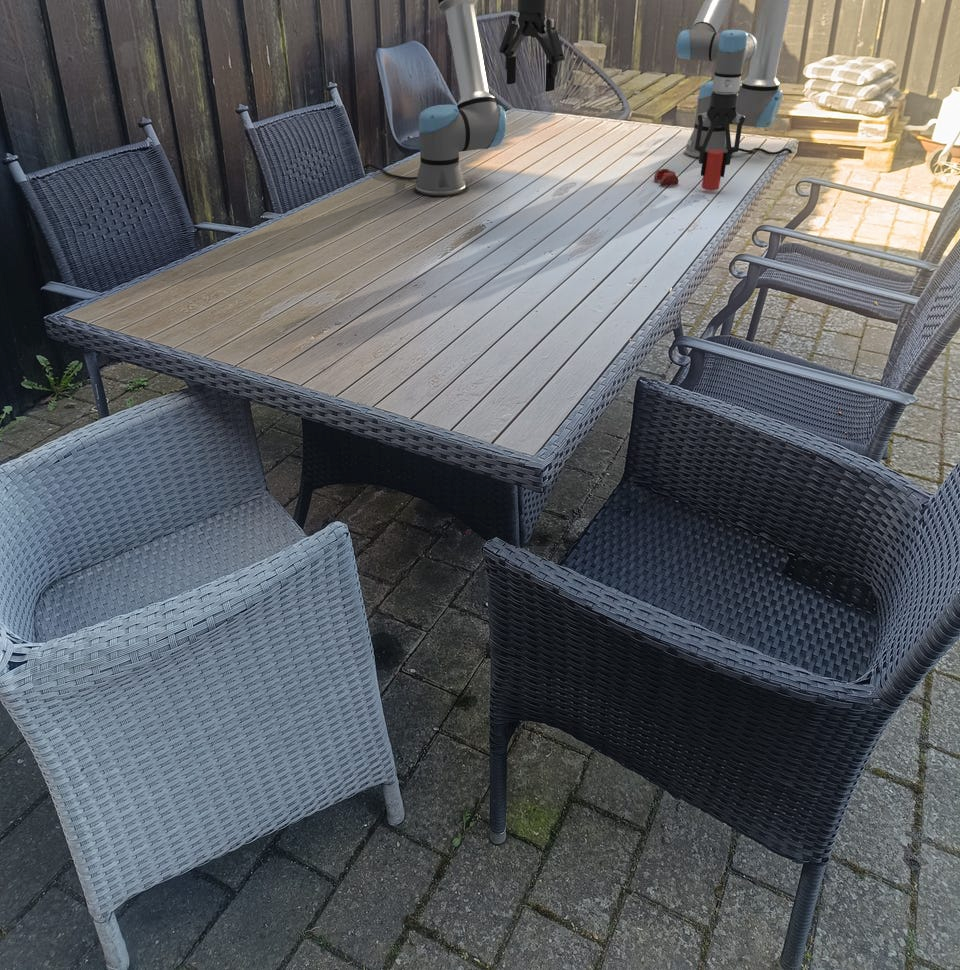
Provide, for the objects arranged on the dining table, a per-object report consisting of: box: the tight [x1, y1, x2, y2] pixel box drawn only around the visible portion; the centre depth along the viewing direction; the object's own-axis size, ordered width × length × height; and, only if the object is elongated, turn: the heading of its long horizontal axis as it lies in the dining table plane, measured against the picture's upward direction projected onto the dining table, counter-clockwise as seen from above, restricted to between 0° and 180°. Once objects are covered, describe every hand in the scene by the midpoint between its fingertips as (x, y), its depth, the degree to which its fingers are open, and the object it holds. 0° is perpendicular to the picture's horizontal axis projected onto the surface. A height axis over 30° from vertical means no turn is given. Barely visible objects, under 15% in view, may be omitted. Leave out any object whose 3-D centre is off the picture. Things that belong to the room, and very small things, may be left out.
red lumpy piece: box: [653, 168, 679, 187], centre depth 263 cm, size 6×4×8 cm
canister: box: [701, 149, 725, 191], centre depth 253 cm, size 5×5×11 cm
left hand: (530, 87), depth 222 cm, fingers open, 13 cm apart
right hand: (712, 175), depth 254 cm, fingers open, 5 cm apart
